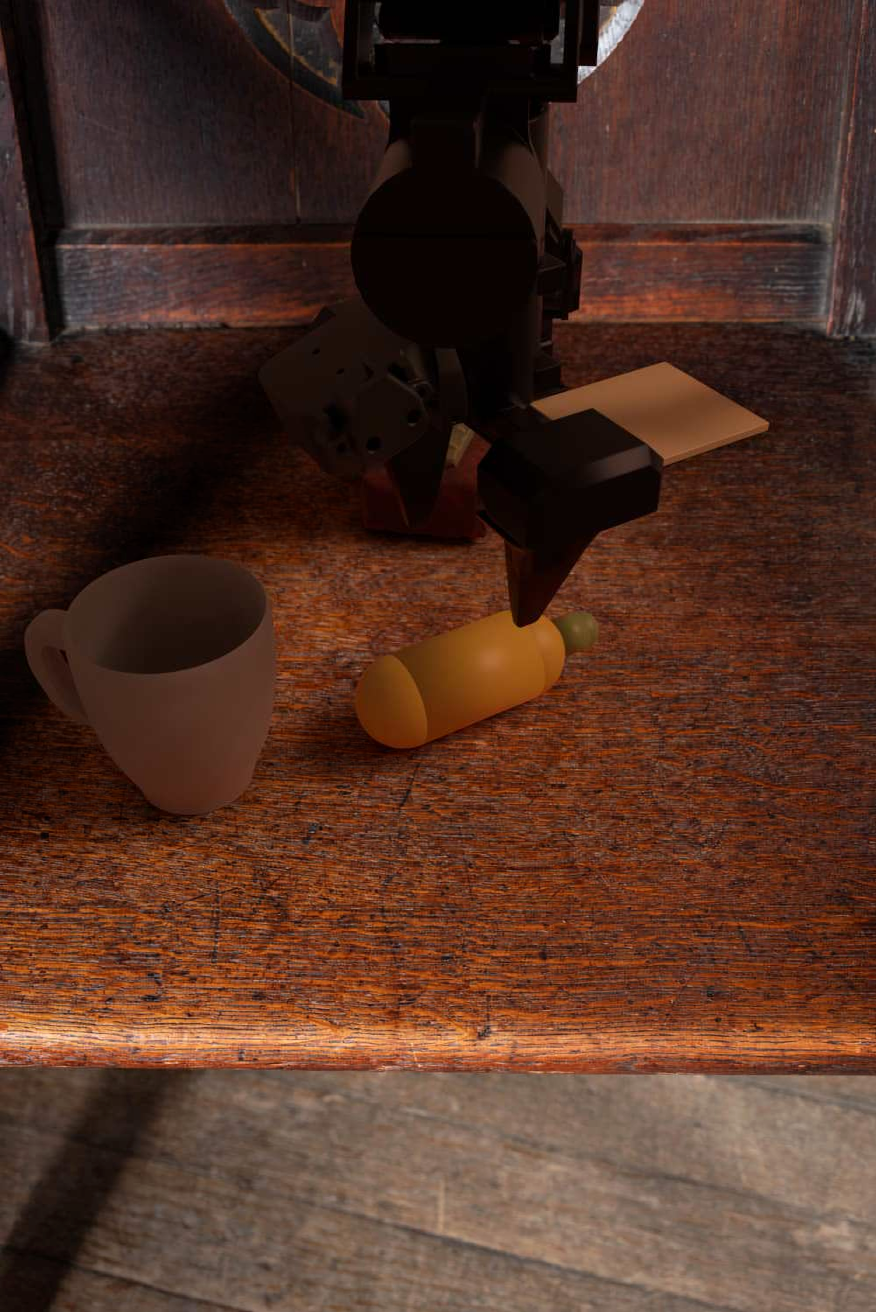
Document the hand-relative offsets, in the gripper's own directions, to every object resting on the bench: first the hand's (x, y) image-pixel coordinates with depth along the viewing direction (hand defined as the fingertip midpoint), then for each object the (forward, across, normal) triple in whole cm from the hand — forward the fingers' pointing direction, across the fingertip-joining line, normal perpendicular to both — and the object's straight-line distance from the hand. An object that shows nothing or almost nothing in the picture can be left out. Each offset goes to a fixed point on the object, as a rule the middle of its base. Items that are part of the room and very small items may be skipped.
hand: (469, 571), depth 57 cm
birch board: (+8, -19, +25) cm, 32 cm away
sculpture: (+9, -18, +9) cm, 22 cm away
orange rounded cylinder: (+8, 0, +1) cm, 8 cm away
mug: (+9, -4, -14) cm, 17 cm away
